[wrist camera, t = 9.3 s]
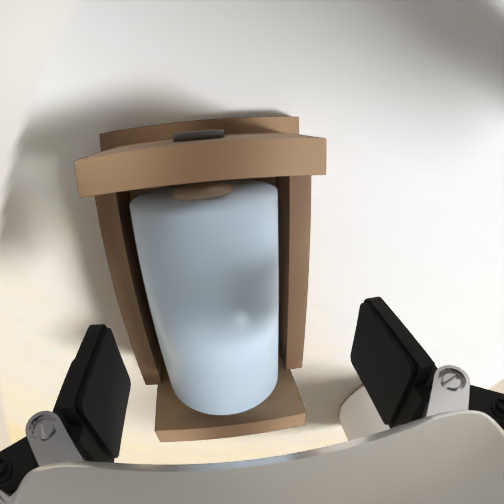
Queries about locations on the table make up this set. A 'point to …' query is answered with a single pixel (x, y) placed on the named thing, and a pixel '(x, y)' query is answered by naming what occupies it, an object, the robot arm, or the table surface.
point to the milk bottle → (360, 416)
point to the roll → (213, 288)
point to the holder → (201, 170)
